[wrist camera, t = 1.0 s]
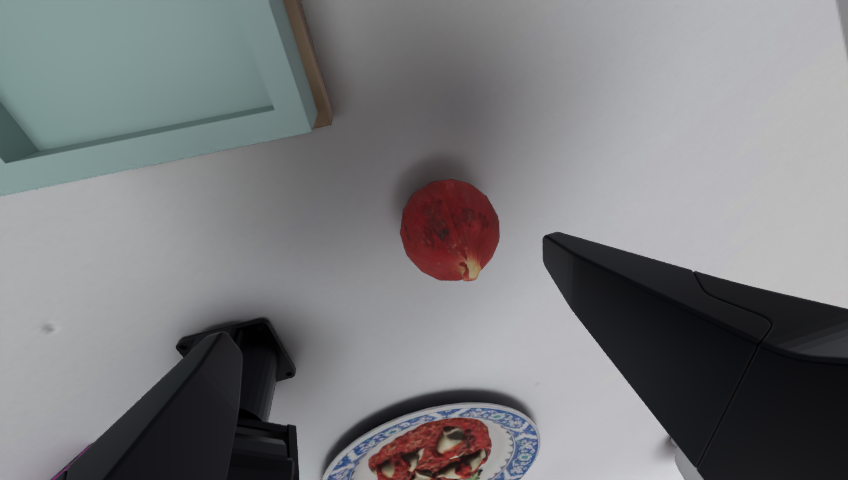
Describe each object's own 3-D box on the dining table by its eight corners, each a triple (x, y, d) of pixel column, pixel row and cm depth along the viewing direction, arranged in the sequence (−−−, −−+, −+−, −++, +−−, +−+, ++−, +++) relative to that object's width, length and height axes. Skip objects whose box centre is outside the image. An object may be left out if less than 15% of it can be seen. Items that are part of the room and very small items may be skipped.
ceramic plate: (273, 448, 33) (267, 481, 31) (512, 352, 33) (526, 377, 31) (374, 529, 47) (376, 557, 45) (543, 461, 47) (555, 485, 45)
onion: (375, 196, 22) (389, 264, 15) (449, 145, 21) (499, 193, 14) (422, 254, 25) (451, 333, 18) (488, 211, 24) (543, 277, 17)
